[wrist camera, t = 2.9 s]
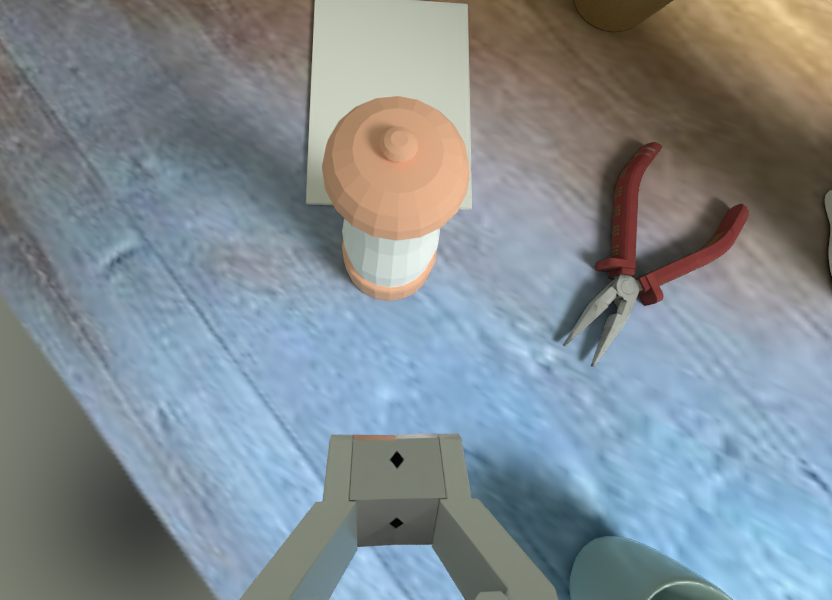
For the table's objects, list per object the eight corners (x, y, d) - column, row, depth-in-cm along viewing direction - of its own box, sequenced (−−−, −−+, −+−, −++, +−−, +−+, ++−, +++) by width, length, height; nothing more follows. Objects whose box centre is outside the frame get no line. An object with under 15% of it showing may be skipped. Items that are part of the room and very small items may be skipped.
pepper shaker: (379, 200, 38) (380, 30, 20) (448, 249, 38) (517, 125, 19) (327, 266, 37) (274, 152, 18) (398, 318, 37) (420, 257, 18)
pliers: (517, 315, 38) (527, 311, 36) (637, 146, 42) (654, 131, 39) (626, 398, 38) (645, 399, 35) (737, 219, 42) (761, 209, 39)
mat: (470, 209, 39) (471, 208, 38) (306, 204, 38) (305, 202, 37) (466, 7, 42) (467, 4, 42) (315, -3, 41) (315, -7, 41)
